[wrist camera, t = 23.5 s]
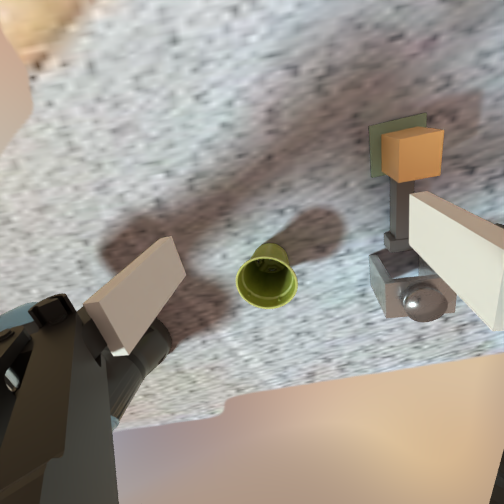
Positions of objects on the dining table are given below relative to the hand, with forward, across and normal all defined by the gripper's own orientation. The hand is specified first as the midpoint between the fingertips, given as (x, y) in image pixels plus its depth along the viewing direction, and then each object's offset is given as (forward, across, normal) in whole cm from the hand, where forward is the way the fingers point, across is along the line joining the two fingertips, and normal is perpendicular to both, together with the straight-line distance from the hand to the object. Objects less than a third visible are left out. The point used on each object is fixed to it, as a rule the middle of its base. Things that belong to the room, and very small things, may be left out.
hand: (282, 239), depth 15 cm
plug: (+28, +15, -7) cm, 33 cm away
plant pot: (+29, -6, -15) cm, 33 cm away
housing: (+28, +15, -20) cm, 38 cm away
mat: (+28, +15, 0) cm, 32 cm away
